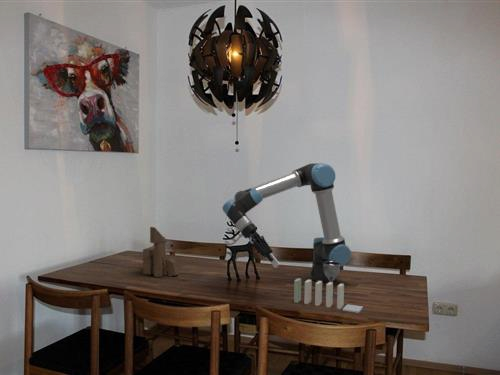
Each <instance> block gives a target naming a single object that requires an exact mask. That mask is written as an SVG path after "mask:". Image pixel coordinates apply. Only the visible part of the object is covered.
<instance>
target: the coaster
mask: <svg viewBox="0 0 500 375" xmlns="http://www.w3.org/2000/svg"><path fill="white" fill-rule="evenodd" d="M363 308H364V306H362V305H361V306H360V305H355V304H348V303H347V304H346V305H344V306H343V307H342V311H343V312H349V313H357V314H360V312H361V311H362V310H363Z"/></svg>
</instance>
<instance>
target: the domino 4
mask: <svg viewBox="0 0 500 375" xmlns="http://www.w3.org/2000/svg"><path fill="white" fill-rule="evenodd" d="M325 287H326V289H325V292H326V294H325V308H331V307H332V306H333V300H334V299H333V298H334V295H333V292H334V281H333V282H327V283H326V285H325Z"/></svg>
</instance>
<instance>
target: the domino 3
mask: <svg viewBox="0 0 500 375" xmlns="http://www.w3.org/2000/svg"><path fill="white" fill-rule="evenodd" d="M314 290H315V292H314V298H315V299H314V306H316V307H318V306H320V305H321V304H323V282H322V281H315V285H314Z"/></svg>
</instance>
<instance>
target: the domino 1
mask: <svg viewBox="0 0 500 375" xmlns="http://www.w3.org/2000/svg"><path fill="white" fill-rule="evenodd" d="M293 290H294V292H293V303H296V304H297V303H299V302H301V300H302V278H299V277H298V278H296V279H295V280H294V283H293Z"/></svg>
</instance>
